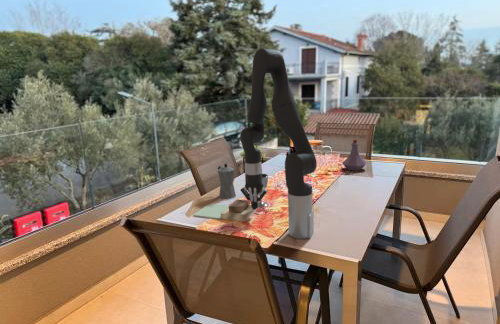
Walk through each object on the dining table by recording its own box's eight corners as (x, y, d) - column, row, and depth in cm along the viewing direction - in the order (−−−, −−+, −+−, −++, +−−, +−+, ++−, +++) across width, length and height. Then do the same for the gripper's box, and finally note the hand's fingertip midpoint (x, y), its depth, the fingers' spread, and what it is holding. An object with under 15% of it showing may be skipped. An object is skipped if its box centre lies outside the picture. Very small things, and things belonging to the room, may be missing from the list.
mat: (234, 207, 165) (234, 206, 165) (219, 219, 151) (219, 218, 150) (210, 204, 170) (209, 203, 170) (193, 216, 156) (193, 214, 156)
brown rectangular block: (248, 206, 158) (248, 200, 157) (241, 213, 150) (240, 207, 149) (237, 205, 160) (236, 199, 159) (229, 212, 152) (228, 205, 151)
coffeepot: (241, 197, 179) (239, 164, 175) (226, 201, 174) (223, 167, 170) (227, 190, 192) (225, 159, 188) (212, 193, 187) (210, 162, 183)
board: (256, 210, 159) (256, 205, 159) (245, 221, 147) (245, 216, 146) (234, 207, 164) (233, 203, 163) (220, 218, 151) (220, 213, 151)
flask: (350, 165, 237) (351, 137, 232) (372, 168, 224) (373, 139, 220) (336, 169, 227) (337, 140, 222) (358, 173, 214) (359, 142, 210)
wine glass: (271, 203, 168) (270, 174, 165) (264, 208, 162) (262, 178, 158) (257, 200, 172) (256, 172, 169) (249, 205, 166) (248, 176, 162)
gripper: (236, 173, 147) (238, 210, 151) (264, 175, 142) (265, 213, 146) (243, 169, 154) (244, 204, 158) (270, 170, 149) (271, 207, 153)
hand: (254, 208), depth 152 cm, fingers closed
